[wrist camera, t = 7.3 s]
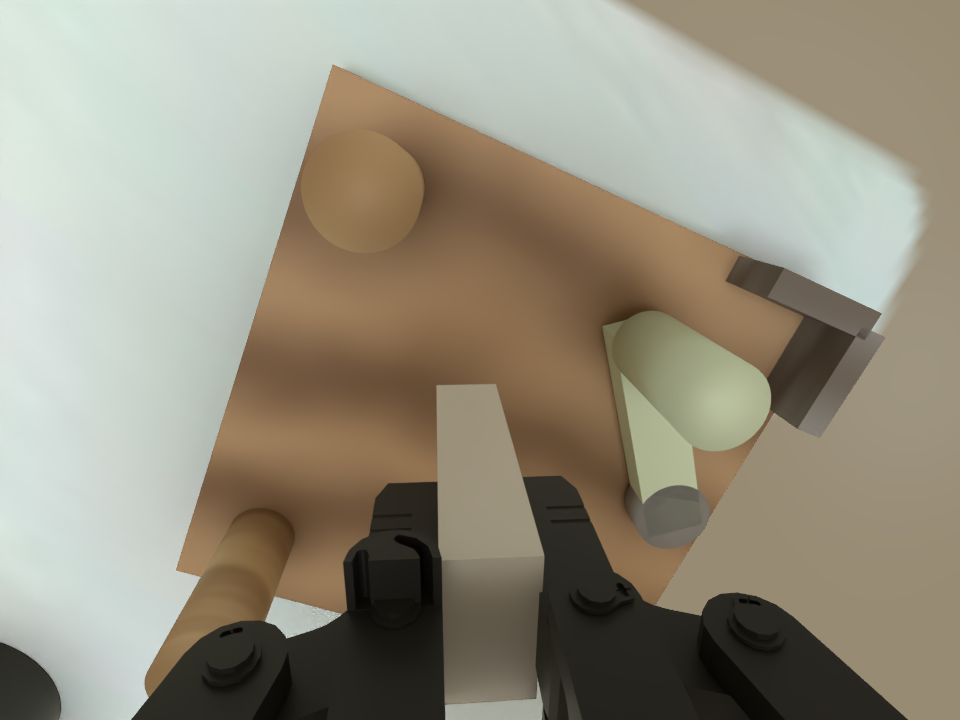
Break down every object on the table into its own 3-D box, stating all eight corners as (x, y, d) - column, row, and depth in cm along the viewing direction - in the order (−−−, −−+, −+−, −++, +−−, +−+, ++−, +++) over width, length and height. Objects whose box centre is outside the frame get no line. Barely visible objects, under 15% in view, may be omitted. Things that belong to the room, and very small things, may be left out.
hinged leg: (696, 516, 26) (794, 644, 19) (630, 534, 26) (703, 668, 19) (666, 292, 22) (775, 347, 15) (589, 312, 22) (662, 377, 15)
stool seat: (596, 651, 31) (664, 850, 22) (194, 541, 27) (71, 733, 18) (811, 291, 25) (1027, 358, 16) (341, 74, 21) (272, -2, 12)
